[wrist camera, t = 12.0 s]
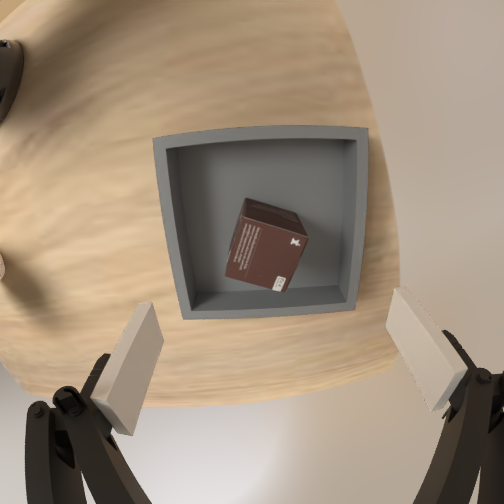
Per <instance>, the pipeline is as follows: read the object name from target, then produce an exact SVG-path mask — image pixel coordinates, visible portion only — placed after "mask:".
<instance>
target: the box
mask: <svg viewBox="0 0 504 504" xmlns="http://www.w3.org/2000/svg"><path fill="white" fill-rule="evenodd" d="M308 239H309V236H308V235H307V233H306V231H305V229H304V227H303V225H302V223H301V221H300V219H299V217H298V215H297V214H296V213H294V212H291V211H288V210H285V209H282V208H278V207H275V206H272V205H269V204H266V203H262V202H259V201H256V200H252V199H249V198H245V199H244V202H243V205H242V208H241V211H240V214H239V217H238V220H237V223H236V226H235V229H234V233H233V236H232V240H231V243H230V247H229V252H228V259H227V265H226V271H225V277H228V278H231V279H235V280H239V281H242V282H246V283H250V284H254V285H257V286H261V287H265V288H268V289H272V290H275V291H280V292H284V293H285V292H286V291H287V288H288V286H289V284H290V282H291V279H292V277H293V275H294V272H295V271H296V269H297V267H298V265H299V261H300V258H301V256H302V254H303V251H304V249H305V247H306V244H307V242H308Z"/></svg>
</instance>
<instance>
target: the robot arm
mask: <svg viewBox="0 0 504 504" xmlns="http://www.w3.org/2000/svg"><path fill="white" fill-rule="evenodd" d="M22 70H23V51H22V48H21V46H20V44H19V43H18V42H16V41H11V40H0V122H1V121H2V119H3V118H4V117H5V115H6V114H7V112H8V110H9V109H10V107H11V105H12V103H13V100H14V98H15V95H16V93H17V90H18V87H19V83H20V80H21V75H22ZM385 327H386V329H387V331H388V333H389V334H390V336H391V338H392V340H393V341H394V343H395V345H396V347H397V348H398V350H399V352H400V354H401V355H402V358H403V359H404V361H405V363H406V365H407V367H408V369H409V371H410V372H411V374H412V376H413V378H414V380H415V382H416V384H417V386H418V388H419V390H420V392H421V394H422V396H423V398H424V400H425V402H426V404H427V406H428V408H429V410H430V412H433V411H436V410H438V409H441V408H443V407H444V405H445V404H446V403H447V401H448V400H449V402H450V404H451V405H450V407H449V408H448V409H447V411H446V412H445V414H444V415H443V417H442V419H444V417H445V416H446V415H447V416H446V420H445V423H444V427H443V430H442V433H441V436H440V439H439V442H438V445H437V448H436V451H435V454H434V456H433V459H432V462H431V464H430V467H429V469H428V472H427V474H426V476H425V479H424V481H423V483H422V485H421V488H420V490H419V492H418V494H417V496H416V499H415V500H414V502H413V504H469V501H470V498H471V496H472V493H473V490H474V487H475V484H476V480H477V477H478V474H479V470H480V466H481V471H480V484H479V494H478V501H477V504H504V412H503V407H504V371H503V373H502V374H491V373H490V372H489V371H488V370H487V369H484V368H477V367H476V366H475V364H474V363H473V361H472V360H471V358H470V357H469V356H468V354H467V353H466V352H465V350H464V349H462V346H461V345H460V344H459V343H458V341H457V339H456V338H455V337H454V335H452V334H451V333H449V332H448V331H447V330H443V331H441V330H440V328H439V327H438V326H437V324H436V323H435V322H434V321H433V319H432V318H431V317H430V315H429V314H428V313H427V312H426V311H425V309H424V308H423V307H422V305H421V304H420V303H419V302H418V301H417V300H416V298H415V297H414V296H413V294H412V293H411V292H410V291H409V290H408V289H407V287H396V288H394V292H393V297H392V301H391V305H390V309H389V313H388V317H387V321H386V325H385ZM163 343H164V339H163V336H162V333H161V330H160V327H159V323H158V320H157V317H156V314H155V310H154V307H153V303H152V302H140V303H139V305H138V306H137V308H136V310H135V312H134V313H133V315H132V317H131V319H130V320H129V322H128V324H127V326H126V328H125V330H124V331H123V333H122V335H121V337H120V339H119V341H118V343H117V344H116V346H115V348H114V350H113V352H112V354H106V353H104V354H103V355H102V356H101V357H100V358H99V359H98V360H97V362H96V363H95V365H94V367H93V370H92V371H91V373H90V376H89V377H88V379H87V381H86V383H85V384H84V386H83V388H82V390H81V392H80V394H79V392H78V391H77V389H76V388H74V387H72V386H65V387H62V388H60V389H58V390H57V391H56V393H55V394H54V396H53V404H54V405H55V406H56V408H50V407H49V406H48V405H47V403H46V402H44V401H37V402H34V403H33V404H31V406H30V407H29V408H28V412H27V421H26V436H25V437H26V438H25V479H26V492H27V502H28V504H87V501H86V497H85V492H84V487H83V481H82V475H81V471H82V474H83V476H84V479H85V481H86V483H87V485H88V488H89V490H90V492H91V494H92V496H93V498H94V500H95V502H96V504H152V503H151V501H150V500H149V499H148V497H147V496H146V494H145V493H144V491H143V489H142V488H141V486H140V485H139V483H138V482H137V480H136V478H135V476H134V475H133V473H132V471H131V470H130V468H129V466H128V464H127V463H126V461H125V459H124V457H123V455H122V453H121V451H120V450H119V448H118V446H117V444H116V442H115V440H114V438H113V436H112V435H111V430H112V427H113V428H114V429H115V430H116V432H117V433H119V434H124V435H130V436H133V433H134V430H135V427H136V424H137V420H138V417H139V414H140V410H141V407H142V404H143V401H144V398H145V395H146V392H147V389H148V386H149V383H150V380H151V377H152V374H153V371H154V368H155V365H156V362H157V359H158V357H159V354H160V351H161V348H162V345H163Z"/></svg>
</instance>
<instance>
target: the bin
mask: <svg viewBox="0 0 504 504" xmlns="http://www.w3.org/2000/svg"><path fill="white" fill-rule="evenodd" d="M153 148H154V158H155V167H156V175H157V183H158V190H159V197H160V204H161V211H162V217H163V224H164V230H165V235H166V241H167V247H168V252H169V257H170V262H171V267H172V272H173V277H174V282H175V287H176V291H177V296H178V300H179V305H180V309H181V313H182V317H183V320H194V319H239V318H261V317H279V316H294V315H307V314H319V313H330V312H340V311H350V310H355V307H356V301H357V295H358V288H359V281H360V274H361V266H362V257H363V248H364V238H365V226H366V212H367V194H368V128H360V127H345V126H318V125H281V126H255V127H239V128H226V129H215V130H206V131H197V132H189V133H182V134H175V135H168V136H162V137H156V138H153ZM245 198H249V199H252V200H256V201H259V202H262V203H266V204H269V205H272V206H275V207H278V208H282V209H285V210H288V211H291V212H294V213H296V214H297V215H298V217H299V219H300V221H301V223H302V225H303V227H304V229H305V231H306V233H307V235H308V236H309V239H308V242H307V244H306V247H305V249H304V251H303V254H302V256H301V258H300V261H299V265H298V267H297V269H296V271H295V272H294V275H293V277H292V279H291V282H290V284H289V286H288V288H287V291H286V292H285V293H284V292H280V291H275V290H272V289H268V288H265V287H261V286H257V285H254V284H250V283H246V282H242V281H239V280H235V279H231V278H228V277H225V271H226V265H227V259H228V252H229V247H230V243H231V240H232V236H233V233H234V229H235V226H236V223H237V220H238V217H239V214H240V211H241V208H242V205H243V202H244V199H245Z"/></svg>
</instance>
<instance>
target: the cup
mask: <svg viewBox="0 0 504 504" xmlns="http://www.w3.org/2000/svg"><path fill="white" fill-rule="evenodd" d="M4 273H5V266H4V261H3V258H2V256H1V254H0V280H1V278H2V277H3V276H4Z"/></svg>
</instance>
